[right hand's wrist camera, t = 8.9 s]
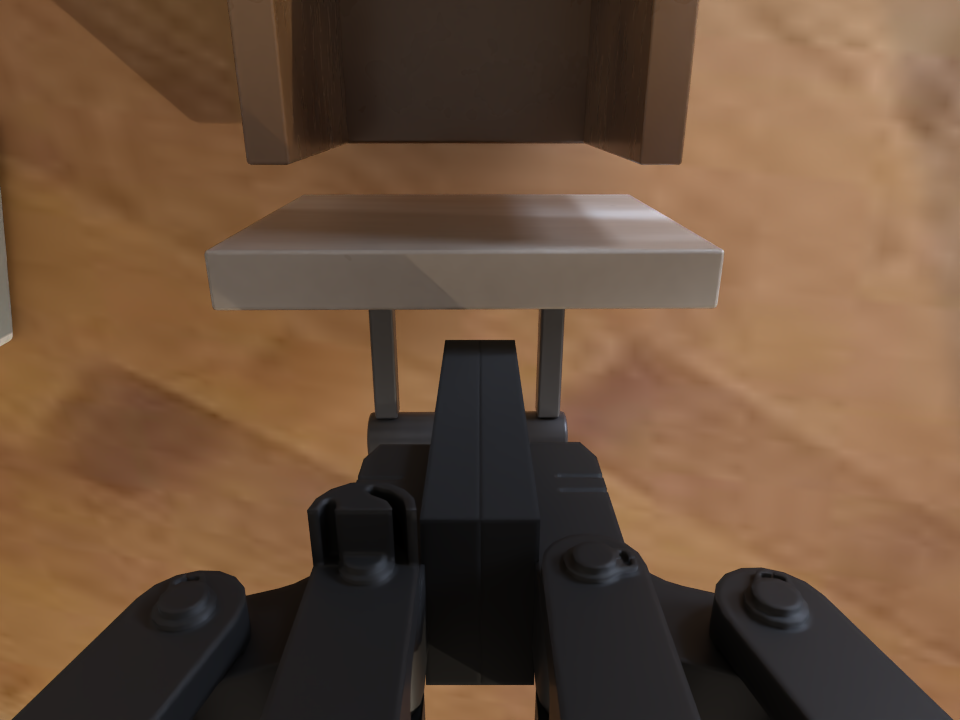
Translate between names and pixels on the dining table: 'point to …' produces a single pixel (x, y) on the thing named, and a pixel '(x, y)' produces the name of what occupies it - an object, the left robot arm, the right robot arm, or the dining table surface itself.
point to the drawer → (463, 218)
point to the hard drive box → (4, 288)
